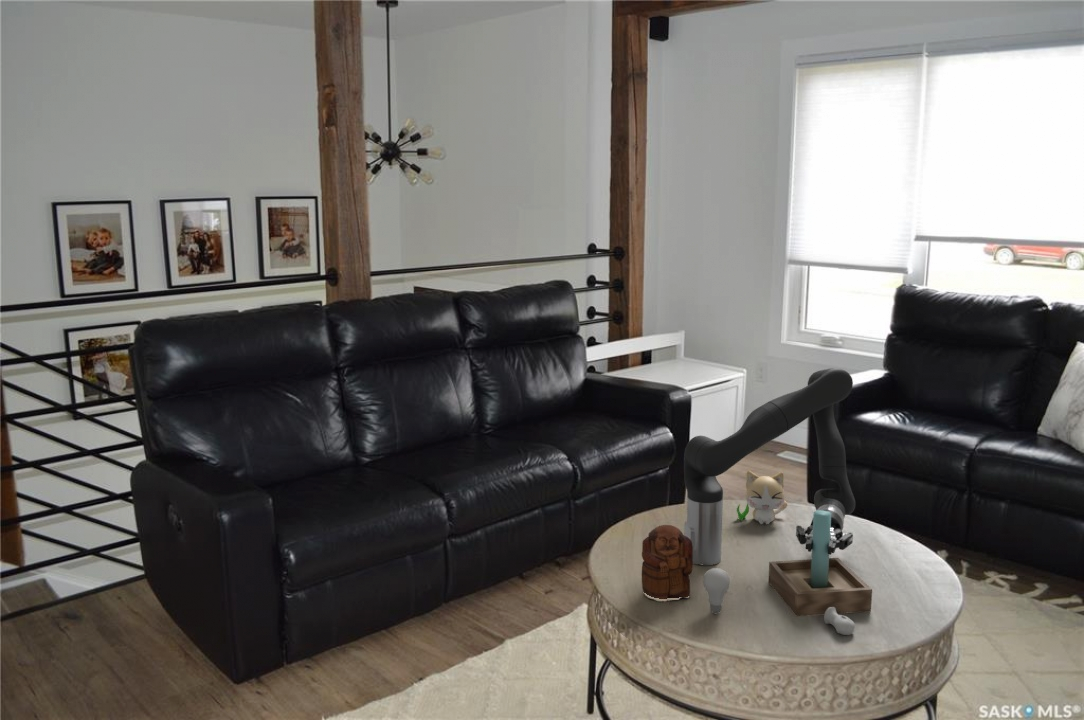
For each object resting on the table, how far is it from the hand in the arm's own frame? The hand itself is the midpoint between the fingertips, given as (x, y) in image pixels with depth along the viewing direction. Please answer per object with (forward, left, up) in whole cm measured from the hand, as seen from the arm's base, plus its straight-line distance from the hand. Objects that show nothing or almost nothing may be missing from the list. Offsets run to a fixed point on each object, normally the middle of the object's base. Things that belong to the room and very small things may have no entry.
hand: (819, 549), depth 209 cm
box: (+1, +2, -13) cm, 13 cm away
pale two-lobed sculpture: (0, -14, -14) cm, 19 cm away
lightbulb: (-26, -3, -13) cm, 29 cm away
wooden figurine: (-35, +7, -13) cm, 38 cm away
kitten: (+5, +51, -13) cm, 53 cm away
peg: (+1, +2, -11) cm, 11 cm away
